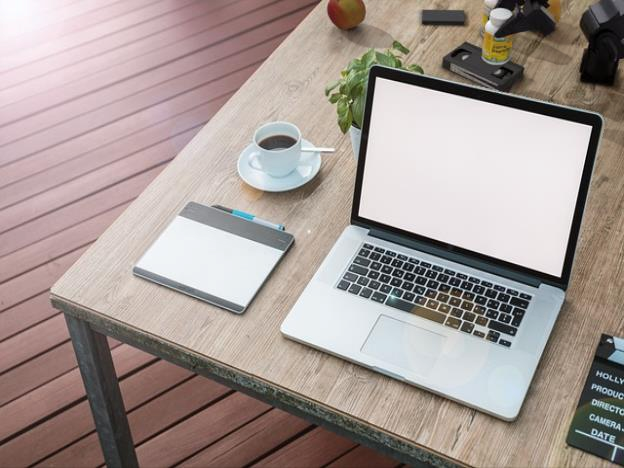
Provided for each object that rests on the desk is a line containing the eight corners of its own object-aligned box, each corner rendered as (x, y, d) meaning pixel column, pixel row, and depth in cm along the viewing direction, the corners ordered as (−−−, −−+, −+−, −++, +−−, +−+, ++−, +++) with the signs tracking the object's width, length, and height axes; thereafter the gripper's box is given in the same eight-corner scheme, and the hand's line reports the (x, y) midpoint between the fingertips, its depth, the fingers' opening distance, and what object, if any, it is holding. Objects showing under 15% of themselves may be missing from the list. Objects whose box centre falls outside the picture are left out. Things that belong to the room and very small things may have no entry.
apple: (341, 14, 185) (340, -20, 180) (372, 24, 182) (372, -10, 176) (321, 29, 181) (320, -4, 175) (352, 40, 177) (352, 6, 172)
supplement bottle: (502, 48, 163) (509, 3, 156) (514, 63, 160) (521, 18, 153) (476, 53, 162) (482, 8, 156) (488, 68, 159) (493, 23, 152)
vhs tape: (441, 66, 170) (441, 57, 168) (464, 49, 173) (465, 41, 172) (500, 93, 162) (501, 85, 161) (523, 75, 166) (524, 67, 165)
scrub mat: (463, 13, 183) (464, 10, 183) (464, 24, 180) (464, 21, 180) (422, 12, 184) (422, 9, 184) (422, 23, 181) (422, 20, 180)
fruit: (540, -2, 182) (535, -23, 175) (571, 14, 178) (567, -7, 171) (516, 27, 182) (510, 7, 175) (546, 44, 178) (541, 24, 171)
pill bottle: (515, 31, 178) (522, -17, 170) (503, 45, 174) (510, -3, 166) (488, 23, 180) (493, -25, 172) (475, 37, 176) (481, -11, 169)
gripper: (520, -84, 151) (454, -23, 159) (548, -33, 138) (474, 30, 146) (556, -45, 157) (491, 11, 164) (586, 6, 144) (513, 65, 151)
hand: (492, 28), depth 156 cm, fingers closed on supplement bottle, 5 cm apart
